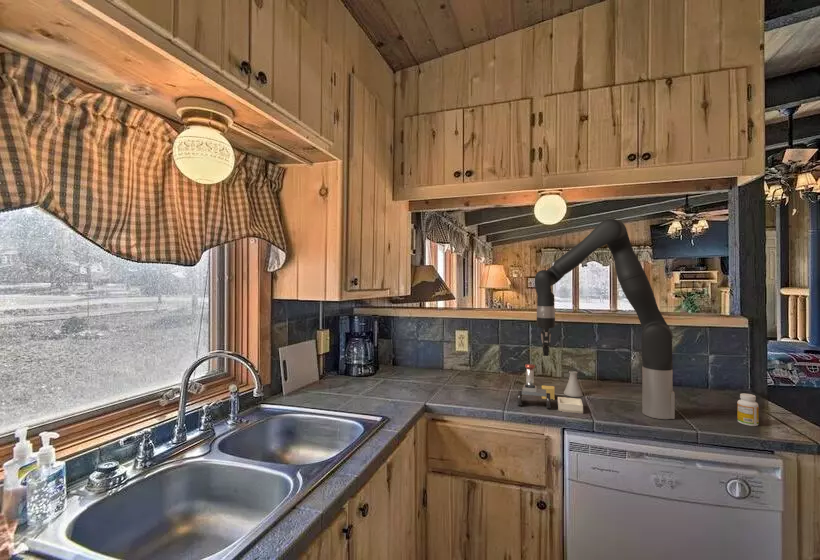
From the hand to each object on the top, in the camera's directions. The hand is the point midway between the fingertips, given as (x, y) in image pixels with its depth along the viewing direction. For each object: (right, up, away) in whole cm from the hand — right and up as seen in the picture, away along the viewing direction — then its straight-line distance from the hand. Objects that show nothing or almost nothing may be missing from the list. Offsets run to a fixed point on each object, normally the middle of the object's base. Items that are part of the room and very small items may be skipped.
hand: (545, 353), depth 164 cm
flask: (+11, -18, -2) cm, 21 cm away
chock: (-1, -17, -5) cm, 18 cm away
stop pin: (-11, -12, -15) cm, 22 cm away
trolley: (-10, -17, -15) cm, 25 cm away
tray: (+2, -17, -19) cm, 26 cm away
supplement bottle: (+57, -17, -34) cm, 69 cm away
